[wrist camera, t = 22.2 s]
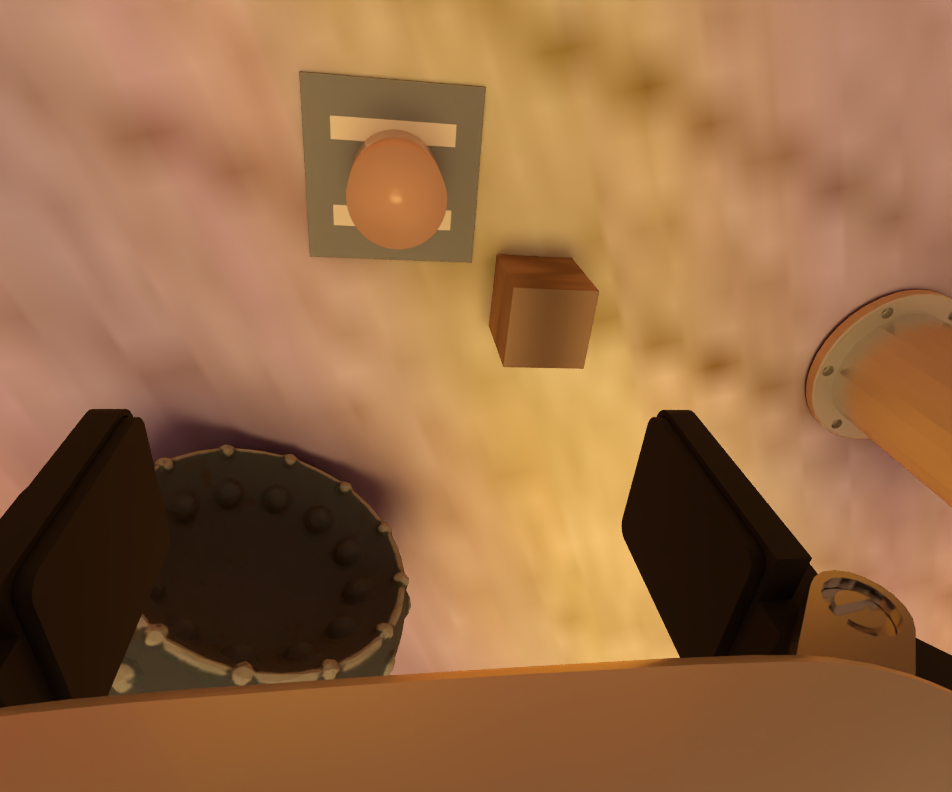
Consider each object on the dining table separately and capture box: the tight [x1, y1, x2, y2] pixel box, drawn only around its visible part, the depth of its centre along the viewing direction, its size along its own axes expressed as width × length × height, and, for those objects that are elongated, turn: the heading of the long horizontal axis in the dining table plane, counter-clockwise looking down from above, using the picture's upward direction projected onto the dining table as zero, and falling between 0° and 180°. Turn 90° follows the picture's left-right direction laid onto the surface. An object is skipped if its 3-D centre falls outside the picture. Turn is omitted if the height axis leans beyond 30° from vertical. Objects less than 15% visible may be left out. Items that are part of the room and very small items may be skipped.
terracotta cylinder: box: [346, 129, 447, 249], centre depth 33 cm, size 5×5×6 cm
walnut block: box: [489, 255, 599, 369], centre depth 38 cm, size 5×5×6 cm
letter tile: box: [299, 72, 486, 263], centre depth 35 cm, size 10×10×1 cm
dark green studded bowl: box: [108, 444, 411, 696], centre depth 38 cm, size 11×20×20 cm, turn 62°
